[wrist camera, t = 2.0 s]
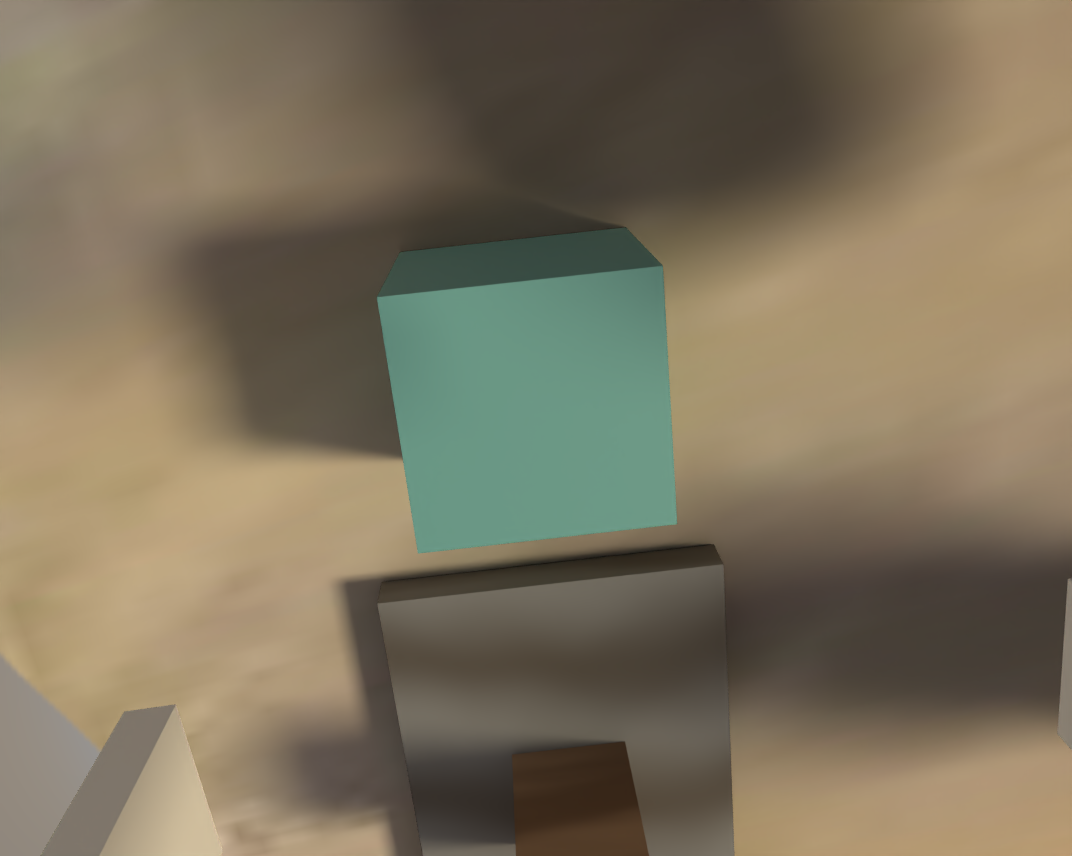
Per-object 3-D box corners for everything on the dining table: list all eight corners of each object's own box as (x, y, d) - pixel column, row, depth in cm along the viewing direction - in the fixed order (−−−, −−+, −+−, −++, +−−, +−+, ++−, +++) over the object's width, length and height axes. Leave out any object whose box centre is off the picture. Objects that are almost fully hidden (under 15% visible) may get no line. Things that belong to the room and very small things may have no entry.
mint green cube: (400, 251, 30) (377, 297, 24) (625, 227, 30) (662, 265, 24) (431, 461, 33) (418, 553, 26) (639, 438, 33) (677, 524, 26)
